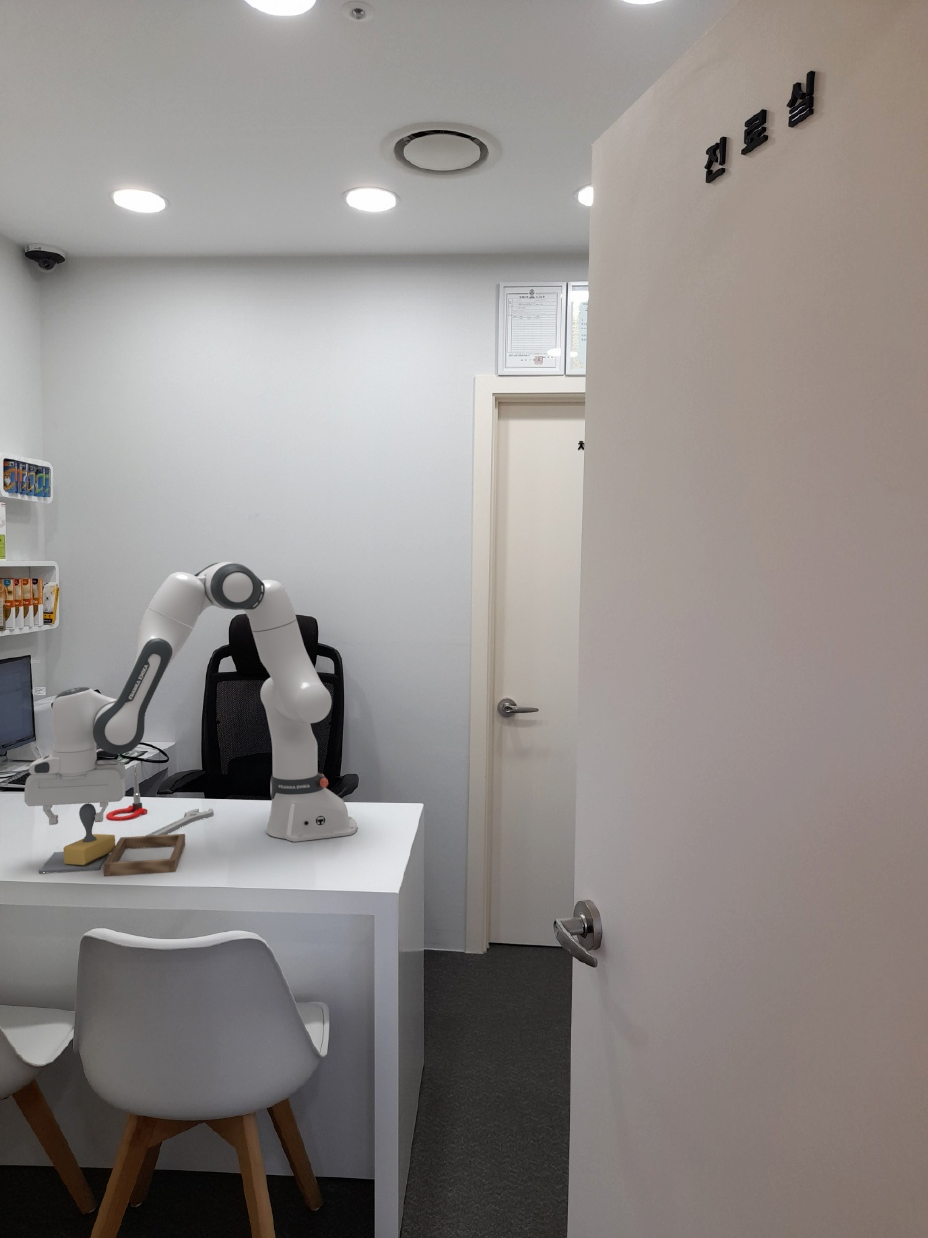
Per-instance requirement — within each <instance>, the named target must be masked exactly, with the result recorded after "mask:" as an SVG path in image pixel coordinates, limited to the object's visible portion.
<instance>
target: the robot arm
mask: <svg viewBox="0 0 928 1238" xmlns="http://www.w3.org/2000/svg"><path fill="white" fill-rule="evenodd" d="M212 606H214V607H217V608H220V609H224V610H234V611H235V610H236V611H237V610H239V611H241V610H242V611H244V612H245V614H246V616H247V618H248V619H249V620H248V621H249V625H250V629H251V633H252V635H253V639H254V643H255V646H256V649H257V652H258V656H259V660H260V663H262V665H263V667H264V668H265V669H266V671H267V673H268V674H269V676H270V677H269V678H267V679H266V680H265V681H264V682H263V684H262V686H261V687H260V700H261V703H262V704H263V707H264V709H265V713H266V718H267V723H268V728H269V729H268V730H269V734H270V738H271V747H272V748H271V749H272V751H271V752H272V774H271V777H270V788H269V789H270V792H269V793H270V797H271V803H270V804H271V805H270V814H269V818H268V824H267V826H266V830H265V832H266V834H267V835H269V836H271V837H274V838H279V839H284V840H288V841H290V842H294V843H295V842H303V841H304V842H305V841H312V840H320V839H328V838H329V839H330V838H336V837H346V836H351V835H354V834H355V833H356V832H357V831H358V825H357V824H358V823H357V821H356V819H355V818H354V817H352V816H349V811H348V807H347V804H346V803H345V801H344V800H343V798H341V797H339V795H337V794H335V792H332V791H331V790H330V789H328V788H327V787H328V785H329V781H328V778H326V776H325V775H324V774H323V773H320V772H319V771H318V741H317V739H316V737H315V735H314V733H313V729H312V725H311V724H315V723H318V722H320V721H322V720H325V718H326V717H327V716H328V715H329V713H330V710H331V708H332V696H331V694H330V691H329V690H328V689H327V687H325V685H324V684H323V682H322V681H321V679H320V677H319V674H318V673H317V671H316V669H315V667H314V664H313V663H312V660H311V658H310V656H309V654H308V652H307V650H306V647H305V645H304V640H303V637H302V634H301V630H300V626H299V623H298V620H297V615H296V612H295V609H294V607H293V604H292V602H291V599H290V597H289V595H288V592H287V591H286V588H285V587H284V584H282V583H281V582H280V581H278V580H274V579H263V580H262V579H260V578H259V577H258V576H257V575H256V574H255V573H254V572H253V570H251V569H250V568H248V567H247V566H245V565H244V564H241V563H236V562H233V561H222V562H214V563H211V564H210V565H208V566H206V567H204V568H203V569H202V570H199V572H196V574H192V573H189V572H185V571H177V572H173V573H171V574H169V576H167V578H166V579H165V580H164V581H163V582H162V584H161V585H160V586H159V588H158V589H157V591H156V592H155V593H154V596H153V597H152V598H151V600H150V602H149V603H148V606H147V608H146V609H145V612H144V613H143V616H142V618H141V621H140V624H139V627H138V630H137V634H136V656H135V659H134V664H133V666H132V668H131V671H130V673H129V675H128V677H127V680H126V681H125V683H124V685H123V687H122V689H121V691H120V694H119V695H118V698H113V697H109V696H106V695H104V694H103V693H102V694H101V693H99V692H97V691H95V690H94V689H92V688H91V687H88V686H82V687H81V686H80V687H74V688H70V689H67V690H63V691H61V692H60V693H59V694H57V695H56V696H55V698H54V699H53V702H52V708H51V709H52V710H51V732H52V735H53V744H52V752H51V753H52V754H49V755H46V756H42V757H40V758H38V759H36V760H34V761H33V762H32V763H31V764H30V765H29V766H28V771H29V774H30V775H29V776H28V777H26V780H25V785H24V797H23V799H24V803H25V804H26V805H27V806H28V807H39V806H41V807H42V811H43V813H44V814H45V815H46V817H48V825H49V826H53V825H57V824H58V823H59V815H58V814H55V813H54V812H53V811H52V808H53V806H59V805H60V806H61V805H78V804H79V805H80V804H88V803H89V804H95V803H96V804H97V803H99V808H101V810H100V811H99V812H96V814H95V821H94V823H102V822H104V813H105V811H106V809H107V807H108V805H109V803H116V802H120V801H122V799H123V798H124V797H125V796H126V786H125V779H124V778H125V776H126V765H125V764H124V763H123V762H122V761H119V760H118V759H101V760H100V759H98V757H97V747H98V748H99V749H100V750H102V751H103V752H106V753H108V754H112V755H123V754H127V753H130V752H131V751H133V750H135V749H136V748H137V747H138V746H139V744H140V743H141V742H142V740H143V737H144V735H145V722H146V721H145V719H146V718H145V717H146V712H147V709H148V707H149V705H150V703H151V701H152V698H153V696H154V694H155V692H156V690H157V688H158V686H159V684H160V682H161V680H162V678H163V675H164V674H165V672H166V671H167V669H168V668H169V666H170V665H171V663H172V662H173V660H174V659H175V658H176V656H177V655H178V653H180V651H181V649H182V648H183V647H184V645H185V644H186V642H187V641H188V639H189V637H190V635H191V634H192V632H193V629H194V628H195V625H196V624H197V621H198V619H199V617H200V616H201V615H202V614H203V612H204V611H205V610H206V609H207V608H209V607H212ZM97 759H98V760H97Z"/></svg>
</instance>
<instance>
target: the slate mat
mask: <svg viewBox="0 0 928 1238" xmlns="http://www.w3.org/2000/svg"><path fill="white" fill-rule="evenodd" d="M109 855H110V853H109V854H107V855H104V856H102V857H100V858H98V859H96V860H94V861H91V862H89V863H87V864H85V865H76V864H65V863H64V851H53V853H52V854H51V855H50V857H49V858H48V859H47V860H46V862H45V863H44V864H43V866H41V868H40V869H39V871H38V874H39V873H42V874H47V873H46V872H57V873H70V872H84V871H85V872H86V871H87V872H88V871H100V869H101V868H102V866H103V865H104V863H105V862H106V860H107V859H108V857H109ZM43 872H45V873H43Z"/></svg>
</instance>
